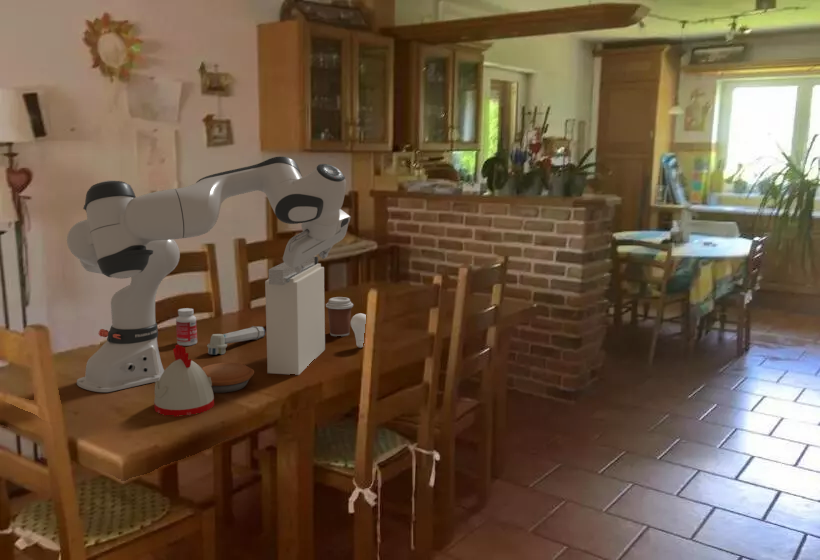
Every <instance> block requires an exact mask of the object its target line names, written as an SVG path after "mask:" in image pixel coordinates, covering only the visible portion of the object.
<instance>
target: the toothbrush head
mask: <svg viewBox="0 0 820 560" xmlns="http://www.w3.org/2000/svg"><path fill="white" fill-rule="evenodd" d="M265 336H266V328H264V327H263V326H258V325H257V326H254V325H251V326H250V327H248V328H243V329H240V330H236V331H230V332H228V333H227V332H226V333H223V334H222V333H213V334H211V336H210V341H209V343H207V345H206V347H207V348H208V349H207V350H208V351H207V354H208V355H213V356H214V355H215V356H216V355H218V354H219V355H225V353H227V352H226V348H227V347H228V344H233V343H239V342H246V341H250V340H252V341H253V340H255V341H257V340H258V339H261V338H264V337H265Z"/></svg>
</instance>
